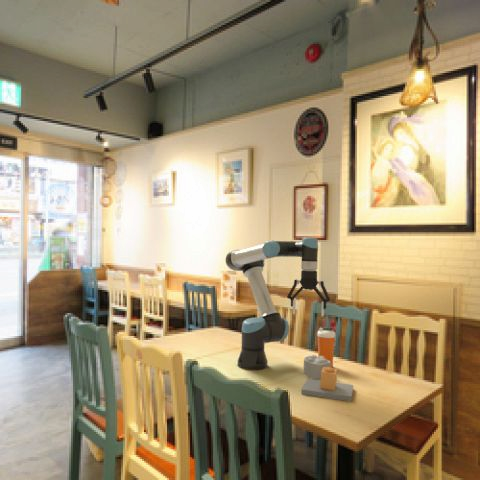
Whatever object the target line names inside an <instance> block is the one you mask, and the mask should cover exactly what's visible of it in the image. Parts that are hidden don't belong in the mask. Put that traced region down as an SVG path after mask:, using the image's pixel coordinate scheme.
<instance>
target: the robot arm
mask: <svg viewBox="0 0 480 480" xmlns="http://www.w3.org/2000/svg"><path fill="white" fill-rule="evenodd" d="M318 241H319V240H318V238H316V237H302V238H301V241H296V240H295V241H293V240H290V241H289V240H285V241H284V240H283V241H282V240H281V241H280V240H268V241H267V240H266V241H265V242H264V243H263V244H259V245H256V246H252V247H249V248H245V249H242V250H241V249H234V250H231V251H229V252H228V253H227V254H226V257H225V264H226V266H227V268H229V269H230V270H232V271H237V272H242V273H243V276H244V277H245V278H247V280H248V282H249V286H250V289H251V291H252V292H251V293H252V295H253V297H254V300H255V303H256V306H257V309H258V312H259V315H260V317H258V316H257V317H250V318H249V317H248V318H246V319H245V320H243V321H242V325H241V350H240V354H239V357H238V358H237V366H238V367H239V368H241V369H243V370H249V371H250V370H251V371H252V370H253V371H256V370H257V371H258V370H264V369H266V368H267V367H268V359H267V355H266V352H265V344H268V343H275V342H280V341H285V339H286V338H287V337H288V336H289V332H290V324H289V322H288V320H287V319H286V318H285V317H282V316H281V313H280V312H279V311H277V310H276V308H275V305H274V302H273V300H272V296H271V294H270V291H269V289H268V287H267V282H266V280H265V278H264V274H263V271H264V267H265V260H269V259H273V258H278V257H287V258H288V257H289V258H290V257H292V258H296V257H298V258H301V263H300V264H301V267H300V268H301V272H300V273H301V274H300V279H297V278H296V279H294V281H293V285H292V287H291V289H290V291H289V292H288V294H287V296H286V299H288V300H290V307H292V314H293V315H296V299H295V298H296V297H297V296H298V295H299V294H300V293H301V292H302V291H303V290H309V291H312V290H314V292H315V293H316V294H317V295H318V297H319V298H320V299H321V317H325V315H324V313H325V310H326V309H327V303H328V302H330V301H331V297H330V295H329V293H328V291H327V288H326V286H325V283H324V282H325V281H324V280H321V281H320V280H319V281H318V271H317V270H318V265H319V264H318V263H319V262H318V261H319V260H318V258H319V257H318V254H319V242H318ZM299 284H300V287H299V289H298V290H297V291H296V292H295V289H296V288H297V286H298V285H299ZM317 285H319V287H320V288H321V290H322V292H323V294H324V295H323V294H322V292H321V291H320V290H319V288H318V287H317ZM294 292H295V293H294Z"/></svg>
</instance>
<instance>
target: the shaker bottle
mask: <svg viewBox="0 0 480 480" xmlns="http://www.w3.org/2000/svg"><path fill="white" fill-rule="evenodd" d="M334 329H335V328H334V327H330V326H325V327H324V326H323V325H321V326H320V327H319V328H318V330H317V354H318V355H317V357H320V356H324V357H325V359H326V360H329V361H330V362H331V367H332V368H334V365H333V364H334V354H335V353H334V352H335V338H336V332H335V331H334Z"/></svg>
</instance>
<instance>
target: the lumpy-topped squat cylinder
mask: <svg viewBox="0 0 480 480" xmlns="http://www.w3.org/2000/svg"><path fill="white" fill-rule="evenodd" d="M323 367H331V362H330V361H329V360H326V359H325V357H324V356H320V357H318V355H315V354H312V355H308V356H305V357H304V358H303V375H304V376H305V377H307V378H308V379H313V380H320V381H321V371H322V368H323Z"/></svg>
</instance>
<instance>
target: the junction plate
mask: <svg viewBox="0 0 480 480" xmlns="http://www.w3.org/2000/svg"><path fill="white" fill-rule="evenodd" d="M320 382H321V380H315V379H312V378H306V380H305V383H304V384H303V386H302V388H301V395H303V396H304V395H306V396H312V397H319V398H324V399H332V400H339V401H347V402H352V399H353V393H354V384H349V383H341V382H336V388H335V391H333V390H328V389H323V388H320Z"/></svg>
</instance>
